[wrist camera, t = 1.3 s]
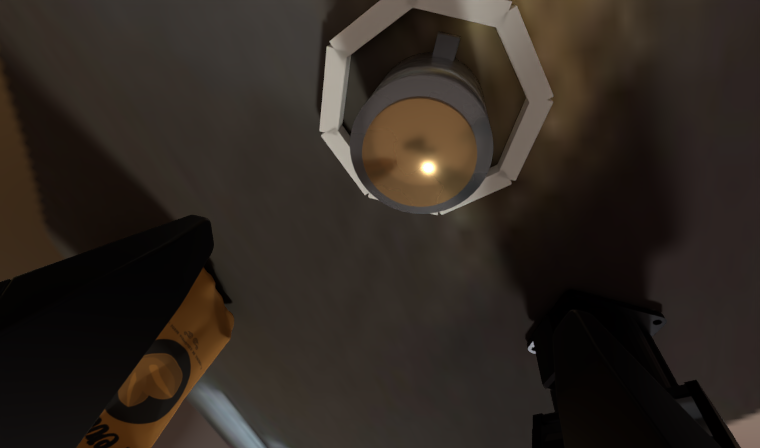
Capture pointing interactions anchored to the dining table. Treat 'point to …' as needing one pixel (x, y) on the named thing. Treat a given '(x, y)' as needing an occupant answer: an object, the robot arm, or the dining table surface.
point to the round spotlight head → (424, 133)
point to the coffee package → (165, 371)
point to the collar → (472, 3)
